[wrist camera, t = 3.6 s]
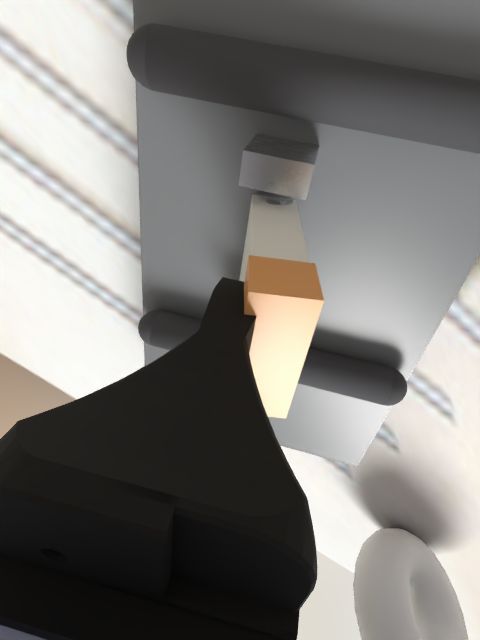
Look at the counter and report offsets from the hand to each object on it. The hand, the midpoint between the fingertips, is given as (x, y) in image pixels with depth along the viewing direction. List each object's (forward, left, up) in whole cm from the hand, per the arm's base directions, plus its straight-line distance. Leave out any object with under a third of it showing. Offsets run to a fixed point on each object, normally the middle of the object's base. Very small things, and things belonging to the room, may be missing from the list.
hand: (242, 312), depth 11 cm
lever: (0, 0, -4) cm, 4 cm away
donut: (-14, +23, -8) cm, 28 cm away
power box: (-1, +2, -8) cm, 8 cm away
